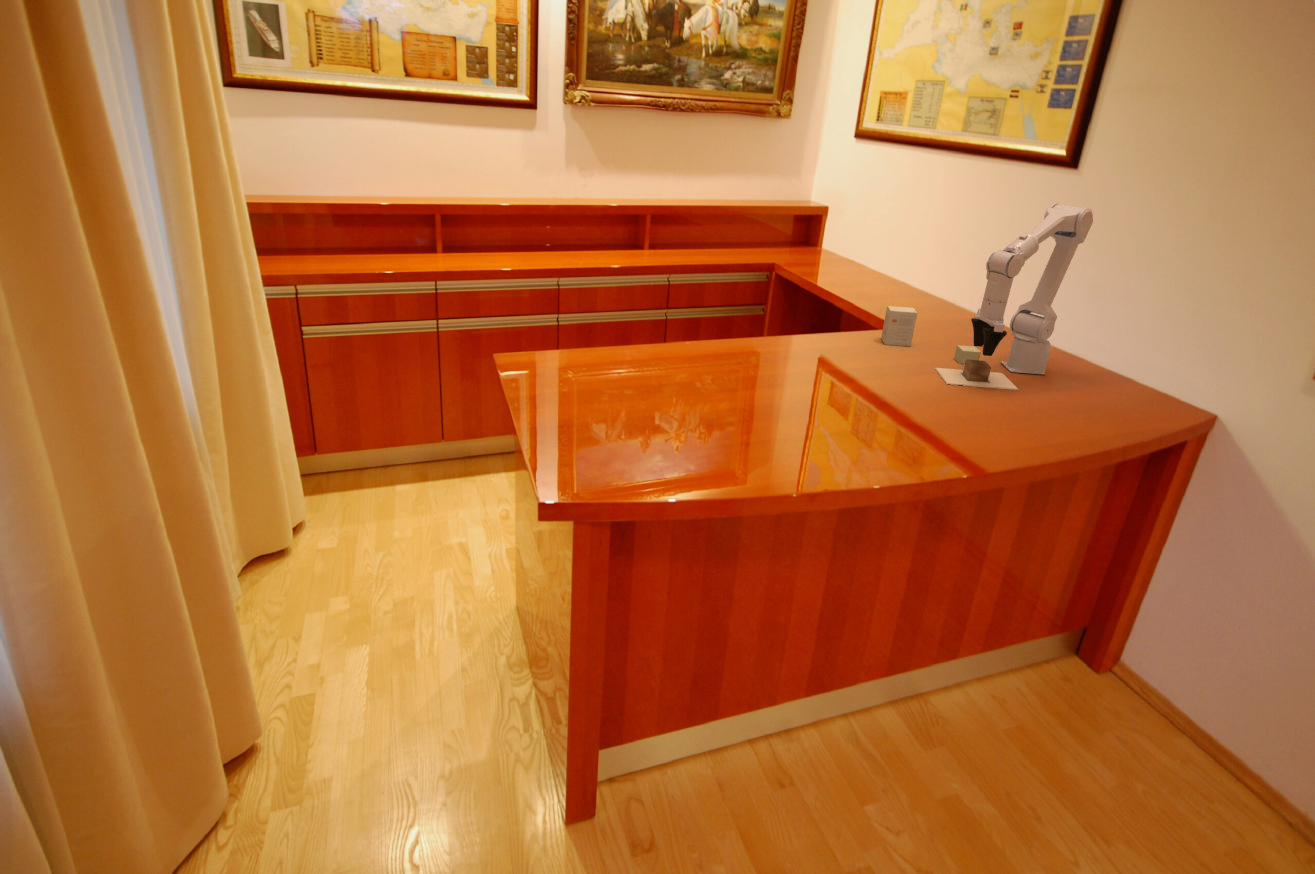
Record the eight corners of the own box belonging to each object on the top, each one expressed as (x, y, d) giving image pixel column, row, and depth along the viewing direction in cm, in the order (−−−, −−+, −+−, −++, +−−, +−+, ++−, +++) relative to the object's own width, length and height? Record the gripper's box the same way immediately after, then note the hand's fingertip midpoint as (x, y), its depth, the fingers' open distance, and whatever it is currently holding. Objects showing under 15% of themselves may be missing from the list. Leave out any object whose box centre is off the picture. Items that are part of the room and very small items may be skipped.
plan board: (1001, 374, 203) (1002, 372, 203) (1017, 390, 192) (1018, 388, 192) (934, 369, 204) (935, 367, 203) (947, 384, 193) (947, 382, 193)
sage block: (971, 359, 214) (974, 346, 212) (977, 365, 209) (980, 352, 207) (953, 358, 214) (957, 345, 212) (959, 364, 209) (963, 350, 207)
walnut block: (981, 375, 200) (985, 360, 198) (987, 381, 195) (991, 367, 194) (962, 373, 200) (966, 359, 198) (968, 380, 196) (971, 365, 194)
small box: (907, 341, 226) (914, 307, 222) (910, 347, 221) (918, 312, 217) (880, 339, 227) (886, 305, 222) (883, 344, 222) (890, 310, 217)
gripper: (970, 291, 195) (958, 341, 201) (988, 306, 182) (975, 358, 188) (997, 293, 195) (985, 343, 201) (1017, 308, 182) (1003, 360, 188)
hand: (982, 350), depth 194 cm, fingers open, 7 cm apart
